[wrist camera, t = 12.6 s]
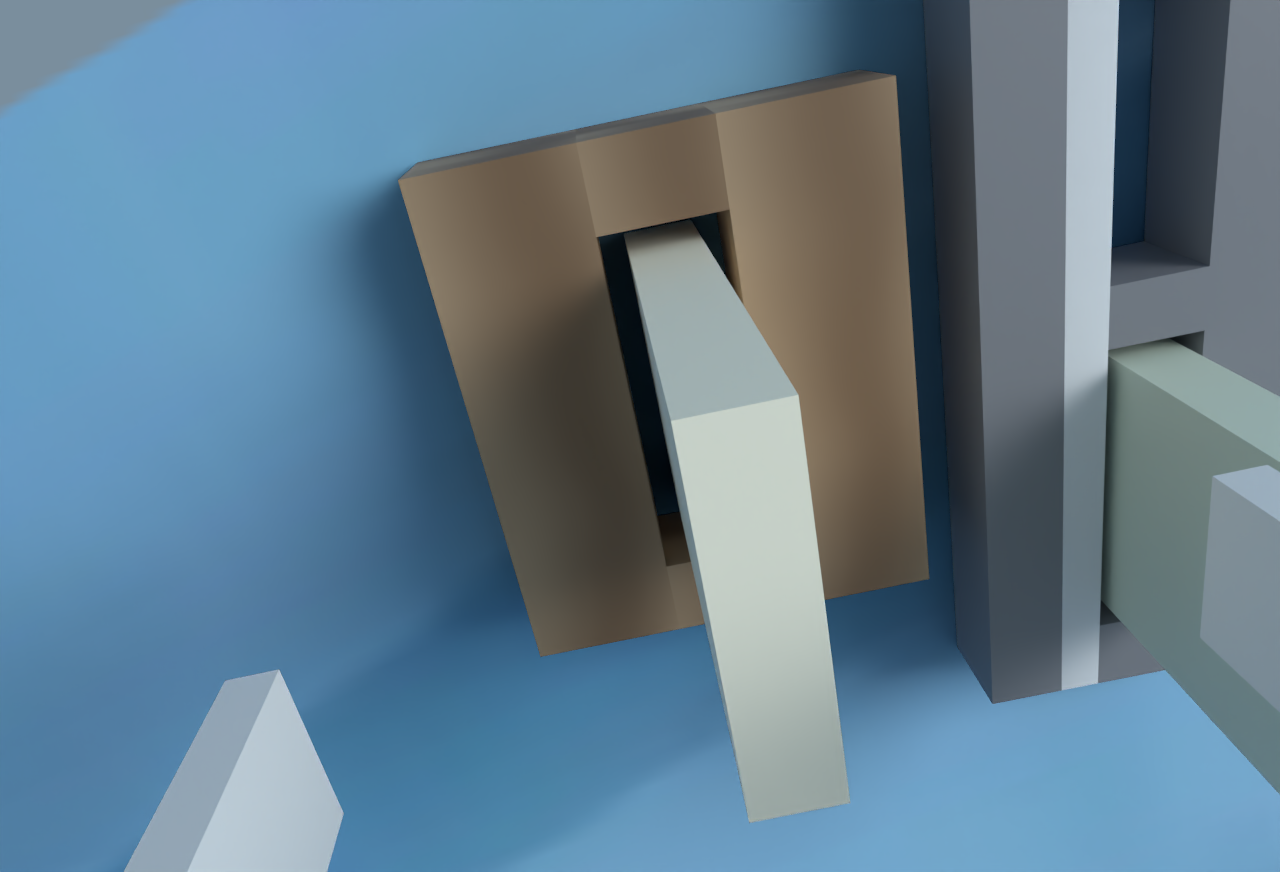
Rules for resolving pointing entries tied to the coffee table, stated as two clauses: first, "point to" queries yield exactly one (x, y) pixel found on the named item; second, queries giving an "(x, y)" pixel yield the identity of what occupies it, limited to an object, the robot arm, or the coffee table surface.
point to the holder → (592, 352)
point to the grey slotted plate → (1082, 290)
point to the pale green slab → (744, 522)
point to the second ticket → (1181, 518)
